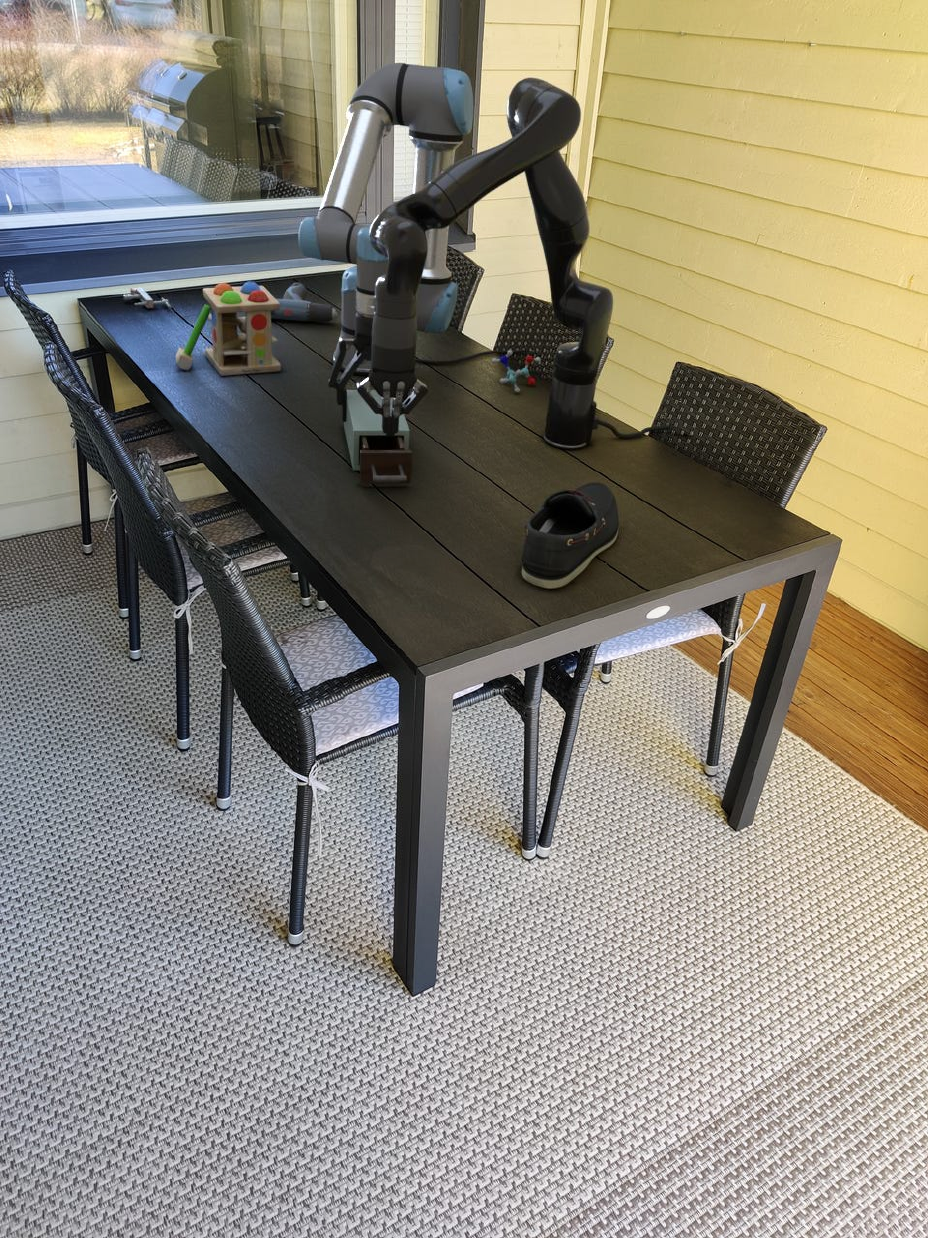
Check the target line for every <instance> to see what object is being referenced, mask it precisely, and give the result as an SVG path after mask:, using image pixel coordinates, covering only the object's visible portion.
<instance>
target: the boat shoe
mask: <svg viewBox="0 0 928 1238" xmlns="http://www.w3.org/2000/svg"><path fill="white" fill-rule="evenodd" d="M523 528H524V529H523V530H524V533H525V540H524V543H523V548H522V553H521V556H520V561H521V562H522V567H521V576H522V578H523V579H524V580H525V581H526V582H527V583H529V584H531V585H533V586H536V587H539V588H542V589H543V588H544V589H550V590H551V589H559V588H562V587H564V586H566V585H568V584H569V583H570V582H571V581H573V580H574V579H575V578H576V577H578V575H580V574H581V573H582V572H583V571H584V570H585V569H586V568H587V567H588V565H589V564H590V563H591V561H592V560H593V559H594V558H596V556H598V554H600V553H602V552H603V551H605V550H606V549H608V548H610V547H611V546H612V545H613V544H614V543H615V541H616V540H617V538H618V534H619V528H620V519H619V509H618V504H617V499H616V497H615V494H614V493H613V492H612V490H611V488H610V487H608V485H606V484H604V483H602V482H598V481H593V482H587V483H585V484H582V485H580V486H578V487H576V488H575V489H565V488H563V489H561V490H558V491H557V492H554V493H552V494H550V495H549V496H548V497H546V499H545V501H544V502H543V503H542V505H541V507H540V509H538V510H537V511H536V512H535V513H534V514H533V515H531V516H530V517H529V518H528V520H527V521H526V523H525V525H524V527H523Z"/></svg>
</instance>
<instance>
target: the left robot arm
mask: <svg viewBox="0 0 928 1238" xmlns="http://www.w3.org/2000/svg"><path fill="white" fill-rule="evenodd" d="M348 104H349V105H348V107H347V109H346V119H347V125H346V128H345V132H344V135H343V138H342V141H341V143H340V147H339V151H338V153H337V156H336V159H335V162H334V165H333V167H332V171H331V175H330V177H329V181H328V184H327V186H326V188H325V192H324V195H323V198H322V201H321V204H320V207H319V210H318V214H317V216H316V217H315V216H312V217H309V216H308V217H307V216H306V217H304V219H303V220H302V221H301V223H300V224H299V228H298V238H297V239H298V247H299V249H300V253H301V254H302V255H303V256H305V257H306V258H311V259H316V260H318V261H319V260H320V261H321V262H322V261H327V262H328V261H329V262H335V263H343V264H344V263H345V264H350V265H354V266H351V267H349V268H346V270H345V271H344V272H343V274H342V281H341V287H340V292H341V316H340V317H341V319H340V321H341V324H340V325H341V326H340V329H341V330H340V336H339V338H338V341H337V344H336V348H335V350H334V352H333V361H332V362H333V363H332V366H331V369H330V372H329V375H328V377H327V385H328V387H329V388H333V389H335V390H336V404H337V406H341V420H342V423H344V422H346V418H347V390H348V389H347V384H348V383H349V382H350V380H351V378H352V377H353V376H354V375H356V376H368V373H369V371H370V369H371V352H372V336H371V333H372V324H373V318H374V303H375V286H376V282H377V279H378V278H379V277H380V276H382V275H384V274H386V272H387V267H388V258H386V257H384V256H383V255H381V254H379V253H378V252H377V251H376V250H375V249H374V248H373V247H372V245H371V243H370V238H369V232H370V228H371V225H365V224H359V223H356V221H357V219H358V216H359V213H360V209H361V206H362V203H363V201H364V197H365V194H366V191H367V188H368V185H369V182H370V178H371V177H372V172H373V169H374V166H375V164H376V160H377V157H378V154H379V152H380V148H381V145H382V142H383V138H385V137H387V136H388V135H389V134H390V132H391V130H392V127H393V126H399V127H406V128H408V139H409V140H410V141H411V142H412V143H413V145H414V156H413V157H414V158H413V159H414V160H413V175H412V192H411V194H413V193H416V192H418V191H420V190H421V189H423V188H424V187H425V186H426V185H427V184H428V183H429V182H430V181H432V180H433V179H434V178H435V177H436V176H438V175H439V174H440V173H441V172H443V171H444V170H445V169H446V168H448V167H449V166H450V165H452V164H454V163H455V153H456V150H457V149H458V148H459V147H461V145H462V144H463V143H464V136H465V135H469V134H470V133H471V131H472V128H473V121H474V94H473V87H472V83H471V79H470V77H469V76H468V74H467V73H466V72H464V71H463V70H459V69H453V68H449V67H447V66H446V67H440V66H429V65H419V64H412V63H411V64H410V63H406V62H392V63H389V64H386V65H384V66H383V65H382V66H381V67H379V68H378V69H376V70H375V71H373V72H372V73H370V75H368V76H367V77H366V78H365V79H364V80H363V81H362V82H361V83H360V85H359V86H358V87H357V88H356V90H355V92H354V93H353V95H352V96H351V98H350V101H349V103H348ZM449 228H450V225H449V226H448V227H446V228H444V229H430V230H427V231H425V232H426V235H427V239H428V254H427V260H426V263H425V267H424V270H423V274H422V278H421V281H420V284H419V286H418V290H417V311H416V321H417V332H422V333H425V334H427V333H430V334H442V333H444V332H446V330H447V329H448V328H449V325H450V323H451V321H452V318H453V315H454V311H455V308H456V304H457V300H458V294H459V293H458V290H459V286H458V284H457V283H455V282H454V281H452V272H451V270H450V269H449V268H448V266H447V265H446V263H447V262H446V261H447V252H448V241H449V240H448V239H449ZM523 349H524V348H522V349H513V350H512V349H503V350H501V349H500V350H487V351H483V352H482V351H481V352H479V353H474V354H471V355H467V356H462V357H458V358H454V359H449V360H448V359H447V360H446V359H445V360H431V359H423V358H415V363H423V364H435V365H436V364H437V365H440V364H442V365H444V364H445V365H446V364H454V363H458V362H459V363H460V362H462V361H467V360H471V359H474V358H475V359H476V358H479V357H482V356H486V355H493V354H495V355H496V354H507V352H508V351H509V350H511V351H512V352H513V353H512V354H520V353H528V352H531V351H524V350H523ZM531 353H532V352H531ZM340 371H342V374H341V375H340ZM339 375H340V377H339ZM338 377H339V378H338ZM413 387H414V385H413ZM413 387H412V388H411V389H410V390H413ZM408 397H409V392H408V393H407V394H406V395H405V396H404V397H403V400H402V404H403V403H404V401H405V400H406V399H407V398H408Z"/></svg>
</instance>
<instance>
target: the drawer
mask: <svg viewBox="0 0 928 1238" xmlns="http://www.w3.org/2000/svg"><path fill="white" fill-rule="evenodd" d="M359 456H360V470H359V484H360V485H365V484H366V485H367V484H368V485H369V484H370V485H371V484H372V485H375V484H376V485H377V484H378V485H379V484H381V485H383V484H384V485H385V484H411V479H412V477H411V474H412V459H413V451H412V449H409V450H405V447H404V444H403V441H402V438H401V435H395V436H394V437H391V436H390V437H386V435H359Z"/></svg>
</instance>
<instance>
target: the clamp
mask: <svg viewBox="0 0 928 1238" xmlns="http://www.w3.org/2000/svg"><path fill="white" fill-rule="evenodd" d="M129 289H130V293H129V294H128V293H127V294H122V295H123V297H122V298H123V300H124V301H128V300H129V301H130V300H133V299H135V300H136V299H138V300H140V302H135V303H134V306H144V307H146V308H147V309H154V305H162V306H167V308H168V309H172V308H173V305H172V304H170V302H169V299H168V298H167V299H165V297H160V300H153V298H152V297H151V296H150V295H149V294H148V293H147V292H146V291H145V290H144V289H143V288H142V287H136V288H135V287H131V288H129Z"/></svg>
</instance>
